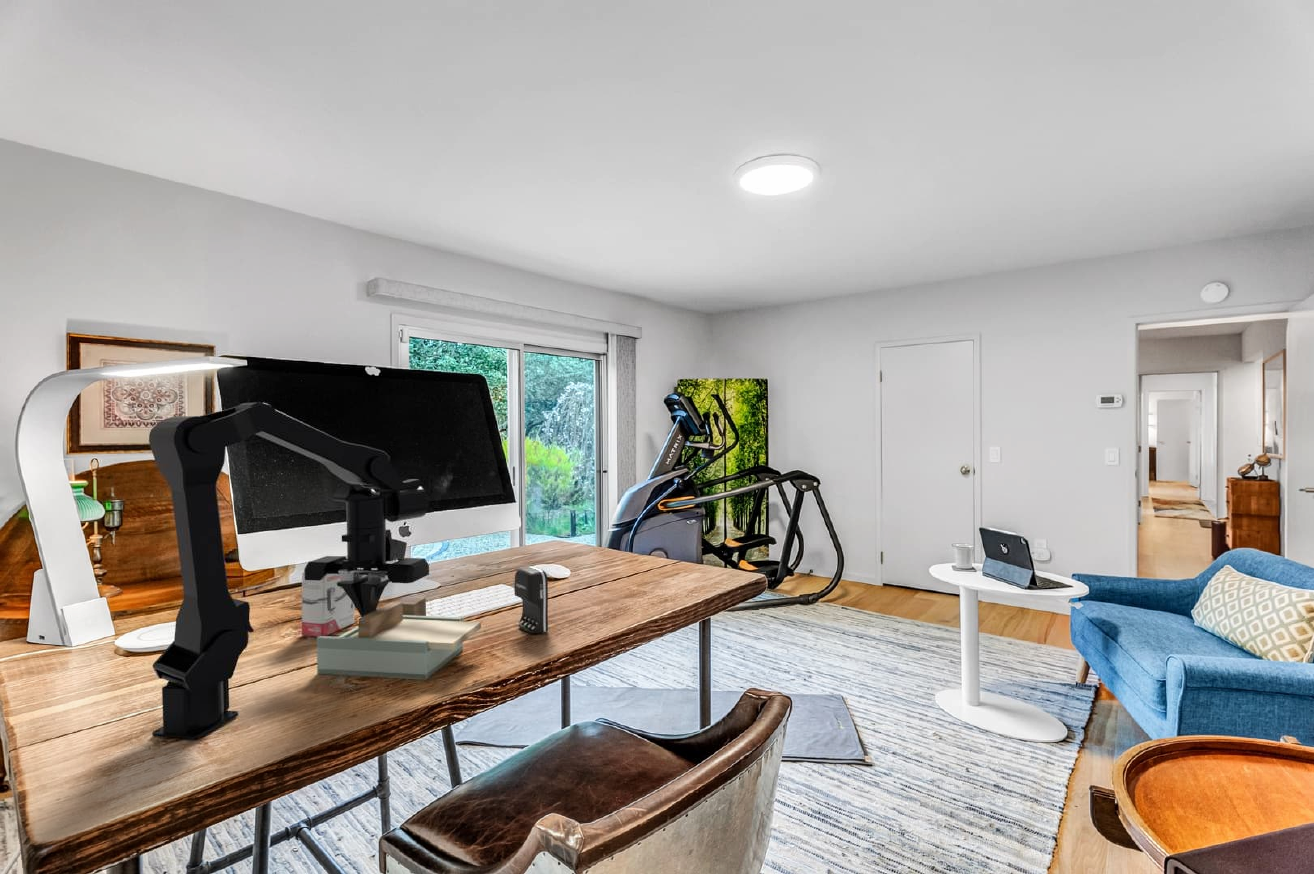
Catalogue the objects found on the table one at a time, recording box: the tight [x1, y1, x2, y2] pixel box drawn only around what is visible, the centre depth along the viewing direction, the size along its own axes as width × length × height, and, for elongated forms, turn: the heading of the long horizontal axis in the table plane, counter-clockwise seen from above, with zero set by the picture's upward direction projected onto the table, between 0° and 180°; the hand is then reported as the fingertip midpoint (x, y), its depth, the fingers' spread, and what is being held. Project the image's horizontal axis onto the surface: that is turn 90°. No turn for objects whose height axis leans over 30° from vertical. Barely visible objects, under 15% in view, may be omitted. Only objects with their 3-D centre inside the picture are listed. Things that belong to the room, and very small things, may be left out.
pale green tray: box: [316, 615, 464, 681], centre depth 99 cm, size 12×18×6 cm, turn 82°
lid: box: [350, 601, 482, 650], centre depth 98 cm, size 10×18×4 cm, turn 82°
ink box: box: [301, 572, 356, 638], centre depth 115 cm, size 9×5×12 cm, turn 168°
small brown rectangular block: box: [396, 596, 427, 616], centre depth 109 cm, size 4×4×7 cm
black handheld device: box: [513, 566, 549, 635], centre depth 113 cm, size 7×4×11 cm, turn 41°
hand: (368, 621), depth 100 cm, fingers closed
